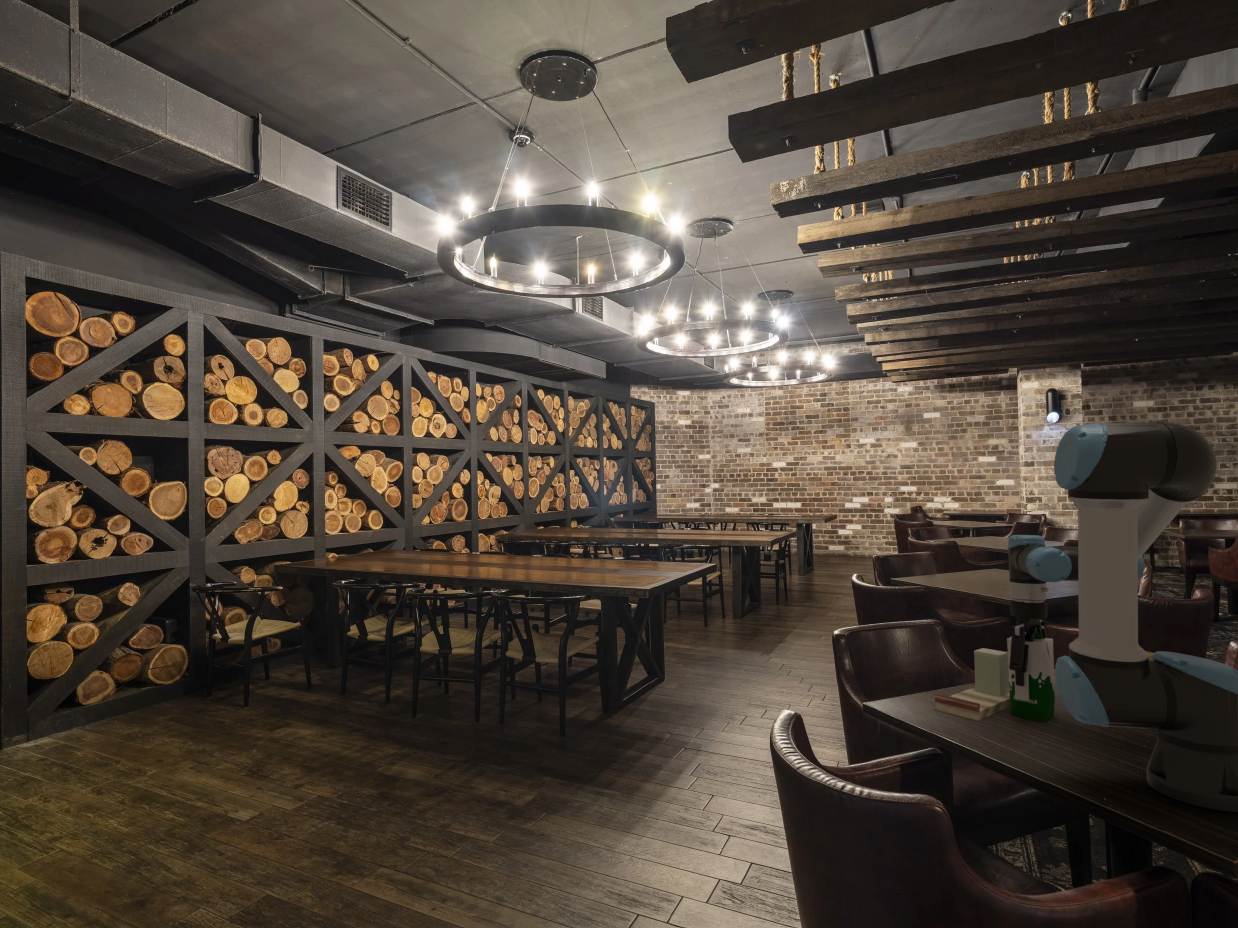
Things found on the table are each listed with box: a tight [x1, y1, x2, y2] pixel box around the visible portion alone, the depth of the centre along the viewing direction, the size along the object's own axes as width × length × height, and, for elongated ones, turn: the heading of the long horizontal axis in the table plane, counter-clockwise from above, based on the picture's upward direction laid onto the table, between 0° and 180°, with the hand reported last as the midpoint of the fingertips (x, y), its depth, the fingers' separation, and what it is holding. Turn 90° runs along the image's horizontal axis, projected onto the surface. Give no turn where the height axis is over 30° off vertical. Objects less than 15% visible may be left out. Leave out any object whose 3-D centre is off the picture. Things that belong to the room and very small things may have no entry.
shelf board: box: [934, 686, 1010, 722], centre depth 163 cm, size 22×10×4 cm, turn 128°
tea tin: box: [973, 647, 1010, 697], centre depth 168 cm, size 5×6×10 cm
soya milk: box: [1006, 631, 1056, 723], centre depth 156 cm, size 9×9×20 cm
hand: (1031, 695), depth 156 cm, fingers open, 10 cm apart
